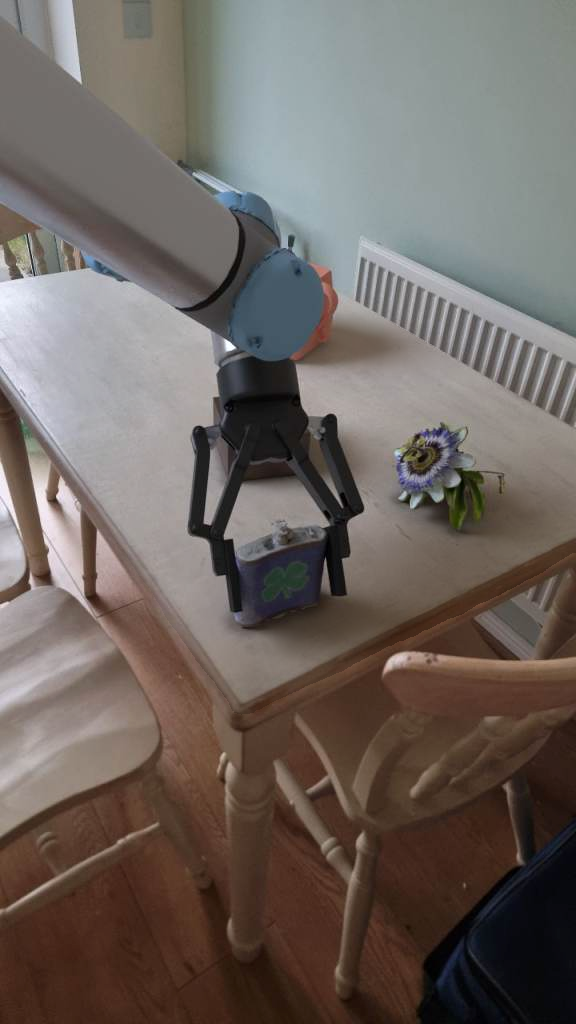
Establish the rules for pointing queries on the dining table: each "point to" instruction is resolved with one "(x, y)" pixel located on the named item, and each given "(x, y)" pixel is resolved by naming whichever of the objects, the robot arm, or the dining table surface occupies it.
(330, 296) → the teapot
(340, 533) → the robot arm
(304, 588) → the flask
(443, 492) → the passion flower
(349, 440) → the dining table surface
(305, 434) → the walnut block
